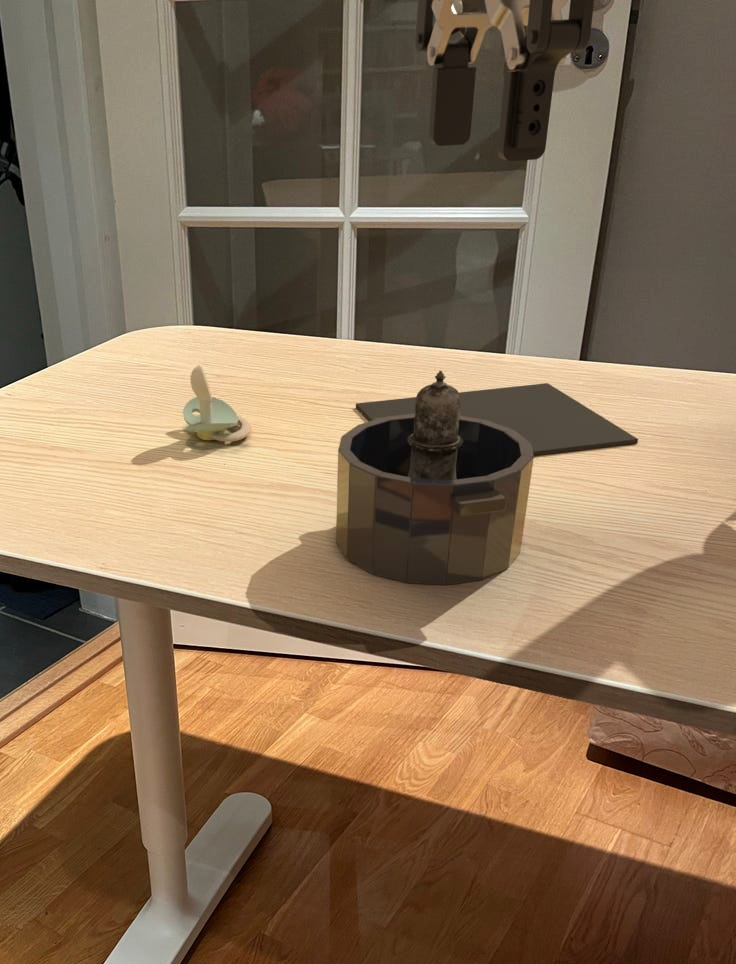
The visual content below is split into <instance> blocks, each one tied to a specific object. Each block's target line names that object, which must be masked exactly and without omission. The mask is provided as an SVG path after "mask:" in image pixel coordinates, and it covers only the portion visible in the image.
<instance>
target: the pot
mask: <svg viewBox="0 0 736 964" xmlns="http://www.w3.org/2000/svg"><path fill="white" fill-rule="evenodd" d="M414 419H415V414H407V415H398V416H388V417H383V418H374V420H373V421H369V420H368V421H366V422H363V423H360V424H357V425H355V426H353V428H351V429H349V430H348V431H347V432H346V433H344V434H342V435H341V437H340V441H339V445H338V449H337V480H336V481H337V482H336V484H337V485H336V521H335V522H336V523H335V525H336V527H335V543H336V546H337V547H338V549H339V550H340V552H341V553H342V554H343V556H344V558H345V559H346V560H347V561H348V562H350V563H352V564H354V565H355V566H357V567H359V568H361V569H363V570H364V571H366V572H368V573H370V574H372V575H375V576H379V577H381V578H386V579H389V580H393V581H398V582H402V583H405V584H406V583H407V584H418V585H419V584H420V585H436V586H437V585H438V586H439V585H440V586H449V585H456V584H463V583H468V582H469V583H470V582H476V581H477V582H478V581H482V580H485V579H487V578H490V577H492V576H494V575H497V574H498V573H501V572H503V571H505V570H508V568H509V567H510V566H511V565H512V564H513V563H514V561H515V560H516V559H517V557H518V556H519V555H520V554H521V550H522V542H523V536H524V528H525V523H526V515H527V508H528V502H529V501H528V499H529V494H530V487H531V480H532V474H533V473H532V472H533V465H534V458H535V456H534V455H533V451H532V446H531V443H530V442H529V441H528V440H526V439H525V438H524V437H522V436H521V435H520V434H518V433H517V432H516V431H514V430H513V429H510V428H507V427H504V426H502V425H499V424H496V423H493V422H490V421H487V420H483V419H477V418H471V417H465V416H460V417H459V427H458V436H460V437H461V438H462V440H463V444H462V446H460V447H459V448H458V450H457V460H456V477H457V480H436V479H415V478H410V477H407V476H408V473H409V469H410V461H411V447H412V446H410V445H409V443H408V441H407V438H408V437H409V436H410V435H411V434H413V433H414Z"/></svg>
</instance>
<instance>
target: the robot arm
mask: <svg viewBox="0 0 736 964" xmlns="http://www.w3.org/2000/svg"><path fill="white" fill-rule="evenodd" d="M568 1H569V0H417V11H416V25H415V36H414V37H415V38H414V44H415V50H416V51H417V52H418V53H420V52H421V53H423V52H426V60H427V63H428V65H429V66H434V68H432V81H431V97H430V110H429V127H428V139H429V142H430V143H431V144H432V145H434V146H438V147H444V146H445V147H446V146H462V145H465V144H467V143H468V142H469V140H470V138H471V131H472V123H473V122H472V121H473V110H474V99H475V98H474V97H475V87H476V86H475V85H476V75H477V66H469V65H472V64H474V63H475V61H476V60H477V56H478V54H479V52H480V49H481V45H482V43H483V40H484V38H485V35H486V32H487V31H488V30H489V29H490V28H492V27H493V28H497V29H498V30H499V32H500V37H501V40H502V46H503V51H504V56H505V61H506V66H507V68H508V69H509V71H504V76H503V77H504V78H503V88H502V97H501V98H502V99H501V108H500V118H499V128H498V138H497V146H496V147H497V148H496V150H497V151H496V152H497V155H498V158H500V159H501V160H504V161H509V162H519V161H534V160H535V161H536V160H538V159H539V158H542V156H543V155H544V153H545V151H546V148H547V141H548V130H549V123H550V114H551V107H552V99H553V92H554V91H553V90H554V82H555V74H556V70H557V68H562V66H563V65H564V64H565V61H566V59H567V56H569V55H570V54H571V53H573V52H575V53H576V52H583V51H585V50H586V48H587V47H588V44H589V42H590V40H591V32H592V23H593V17H594V15H593V14H594V6H595V4H594V3H595V0H570V1H569V11H568V19H563V17H562V16H563V15H562V11H563V9H564V8H565V6H566V5H567V4H568ZM434 19H435V21H434ZM433 23H434V25H433ZM525 27H527V30H525Z"/></svg>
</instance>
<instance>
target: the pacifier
mask: <svg viewBox="0 0 736 964" xmlns="http://www.w3.org/2000/svg"><path fill="white" fill-rule="evenodd" d="M190 386H191V389H192V392H193V393H194V395H195V396H196V397H193V398H191V399H189V400H188V401H187V402H186V404H185V405H184V407H183V409H182V415H183V416H182V417H183V419H184V421H185V423H186V424H187V425H188V426H186V427H185V431H186V432H190V433H196V435H197V438H199V440H200V439H201V440H203V441H219V442H225V443H232V442H237V441H241V440H243V439H245V438H247V437H248V436H249V435H250V434H251V432H252V425H251V423H250V422H249V421H248V420H247V419H246V418H245V417H243V416H240V415H238V414H237V412H236V411H235V409H233V407H232V406H231V405H229V403H227V402H226V401H224V400H223V399H220V398H216V397H214V396H212V392H211V388H210V384H209V381H208V379H207V376H206V373H205V370H204V369H203V366H202V365H201V364H198V365H196V366H195V367H194V368H193V370H192V371H191V374H190ZM196 412H197V413H199V414H198V415H197V414H194V413H196ZM235 426H239V427H240V429H239V430H237V431H234V432H230V433H225V432H226V431H225V430H227V429H230V428H232V427H235Z"/></svg>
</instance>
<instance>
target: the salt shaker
mask: <svg viewBox="0 0 736 964" xmlns="http://www.w3.org/2000/svg"><path fill="white" fill-rule="evenodd" d="M446 378H447V377H446V376H445V374H444V372H443V371H442V370H439V371H438V372H437V373H436V375H435V376H434V379H435V381H434V382H432V383H431V384H427V385H425V386H423V387H422V388H421V389H420V390H419V391H418V392H417V393H416V396H415V397H416V405H415V419H414V433H413V434H411V435H410V436H409V437H408V438H407V441H408V443H409V445H410V446H412V447H411V461H410V469H409V473H408V476H407V477H410V478H415V479H436V480H457V477H456V460H457V450H458V448H459V447H460V446H462V444H463V440H462V438H461V437H460V436H458V427H459V417H460V406H461V397H460V394H459V391H458V390H457V388H455V387H453V386H452V385H450V384H448V383H446V382H444V380H445V379H446Z"/></svg>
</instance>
